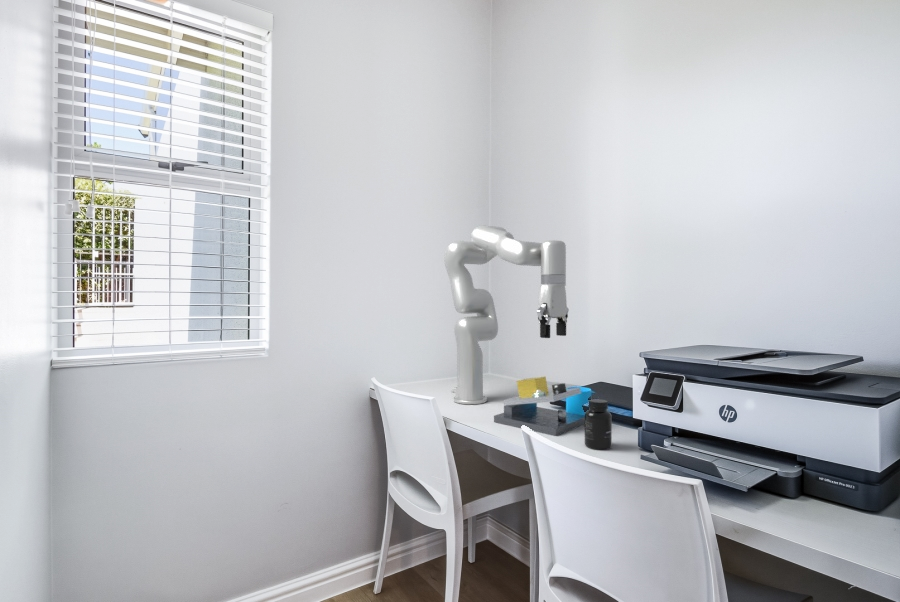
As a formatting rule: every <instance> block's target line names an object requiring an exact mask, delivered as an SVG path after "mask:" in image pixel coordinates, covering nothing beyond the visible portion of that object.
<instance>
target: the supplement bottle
mask: <svg viewBox="0 0 900 602" xmlns="http://www.w3.org/2000/svg"><path fill="white" fill-rule="evenodd" d="M608 402H609V401H608V400H606V399H600V398H599V399H595V398H593V399H592V398H591V400H589V405H588V407H589V410H587V411H586V412H585V424H584V445H585V447H587V448H589V449H592V450H598V451H599V450H600V451H603V450H605V451H606V450H609V449H610V448H612V442H613V441H612V438H613V437H612V434H613V431H612V429H613V428H612V427H613V425H612V421H613V418H612V414H611V412H610V411H609V410H608V408H609V406H608V405H609V403H608Z"/></svg>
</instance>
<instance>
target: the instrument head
mask: <svg viewBox="0 0 900 602" xmlns="http://www.w3.org/2000/svg"><path fill="white" fill-rule="evenodd" d="M516 385H517V390H518V395H517V396H513V397H509V398H506V399H504V400H503V404H504V405H503V406H505V405H515V404H529V403H537V404H538V403H539V404H540V403H541V404H543V403H554V402H558V401H560V400H561V401H562V400H564V399H566V398H567V397H570V396H574V395H577V394H580V393H581V389H580V388H573V389H566V388H567V386H566V383H564V382H563V383H557V384H556V383H555V384H551V387H552V389H551V390H549V388H548V383H547V378H546V376H539V377H530V378H524V379H520V380H516Z"/></svg>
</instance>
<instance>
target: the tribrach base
mask: <svg viewBox="0 0 900 602" xmlns="http://www.w3.org/2000/svg"><path fill="white" fill-rule="evenodd" d="M537 405H538V403H529V404H515V405H503V412H500V413H498V414H495V415H493V422H494V423H497V424H501V425H505V426H509V427H514V428H519V429H521V428H520V427H521V426H522V425H525V426H527V427H529V428H530V429H532V430H534V431H533V432H537V433H540V434H545V435H550V436H554V437H556V436H559V435H561V434H564V433H567V432H569V431H570V430H571V431H572V430H573V429H576V428H578V427H581V426H583V425H585V416H584V415H579V414H573V413H568V412H566V409H558V410H556V409H550V408H544V407H538V406H537Z"/></svg>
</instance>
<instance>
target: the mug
mask: <svg viewBox="0 0 900 602" xmlns="http://www.w3.org/2000/svg"><path fill="white" fill-rule="evenodd" d="M573 388H580V389H581V393H580V394H577V395H574V396H570V397H567V398H565V410H566V412H568V413H573V414H579V415H584V416H585V412H584V410H583V407H582V405H584V404H586V403H588V402H589V400H588V398H589V397H590V396H591V397H592V393H596V392H595V391H593V390H592V389H591V388H590V387H583V386H570V387H566V389H573Z"/></svg>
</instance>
